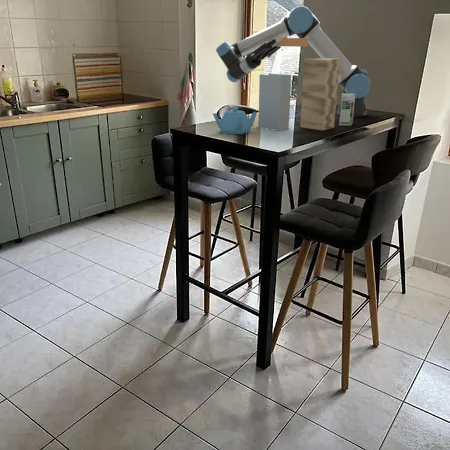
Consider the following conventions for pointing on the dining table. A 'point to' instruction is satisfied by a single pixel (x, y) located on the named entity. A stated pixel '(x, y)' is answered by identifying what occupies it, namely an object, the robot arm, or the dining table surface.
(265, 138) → the dining table surface
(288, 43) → the rod
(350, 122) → the syrup box
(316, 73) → the wooden block
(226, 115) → the teapot
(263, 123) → the block
